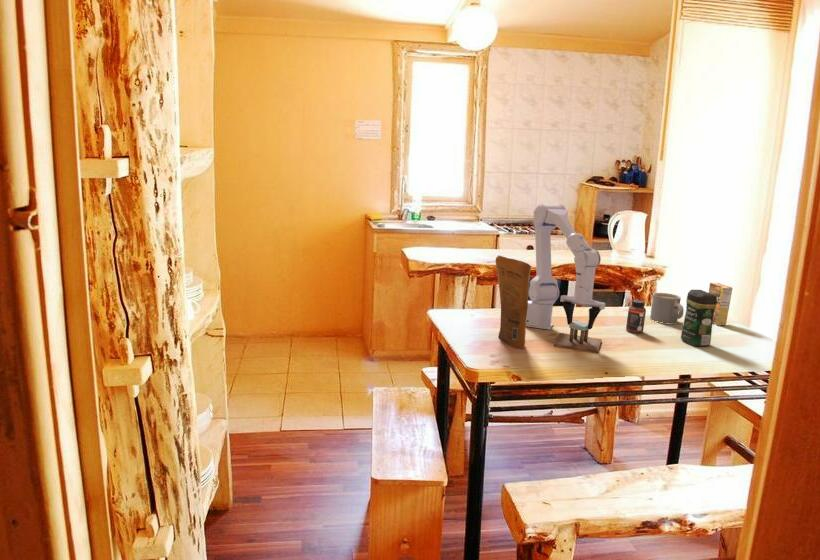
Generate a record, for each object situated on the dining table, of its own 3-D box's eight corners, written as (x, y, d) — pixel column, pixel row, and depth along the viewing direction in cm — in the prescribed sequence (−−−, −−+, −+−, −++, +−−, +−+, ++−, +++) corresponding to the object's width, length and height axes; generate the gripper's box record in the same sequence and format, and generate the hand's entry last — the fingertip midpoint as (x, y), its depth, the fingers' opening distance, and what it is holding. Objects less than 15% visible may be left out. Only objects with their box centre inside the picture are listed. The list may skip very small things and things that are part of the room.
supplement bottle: (644, 334, 219) (648, 303, 217) (626, 332, 220) (630, 302, 218) (641, 330, 225) (645, 300, 223) (624, 328, 226) (628, 298, 224)
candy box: (703, 319, 245) (709, 282, 242) (712, 319, 246) (718, 282, 243) (716, 325, 237) (723, 287, 233) (726, 326, 237) (733, 287, 234)
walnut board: (553, 345, 200) (553, 343, 200) (559, 334, 213) (559, 332, 213) (597, 353, 195) (597, 350, 195) (601, 341, 208) (601, 339, 208)
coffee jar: (676, 338, 216) (683, 287, 212) (696, 338, 217) (704, 288, 213) (692, 347, 207) (701, 294, 203) (714, 347, 208) (722, 294, 204)
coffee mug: (644, 317, 244) (648, 292, 242) (667, 317, 246) (670, 292, 244) (664, 326, 231) (668, 301, 229) (688, 326, 233) (692, 301, 231)
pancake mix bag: (513, 351, 192) (521, 264, 187) (487, 333, 210) (494, 253, 204) (532, 350, 195) (541, 263, 189) (505, 332, 212) (512, 253, 206)
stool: (567, 341, 204) (569, 323, 202) (573, 337, 208) (575, 320, 206) (582, 344, 200) (584, 327, 199) (588, 341, 205) (590, 324, 203)
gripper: (610, 288, 199) (605, 328, 202) (568, 281, 207) (563, 319, 210) (602, 291, 193) (597, 332, 196) (559, 283, 202) (555, 323, 205)
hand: (579, 326), depth 203 cm, fingers open, 6 cm apart
